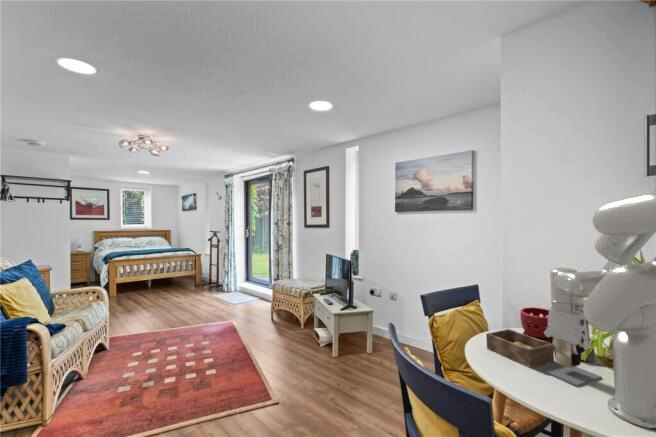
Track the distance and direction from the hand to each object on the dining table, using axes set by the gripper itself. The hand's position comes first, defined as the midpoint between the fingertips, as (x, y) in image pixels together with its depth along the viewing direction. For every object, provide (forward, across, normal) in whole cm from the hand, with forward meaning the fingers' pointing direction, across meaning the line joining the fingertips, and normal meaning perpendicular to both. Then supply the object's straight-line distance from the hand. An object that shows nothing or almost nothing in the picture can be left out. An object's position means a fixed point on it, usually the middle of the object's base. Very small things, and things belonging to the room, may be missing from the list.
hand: (567, 361), depth 103 cm
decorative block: (+4, +7, -18) cm, 20 cm away
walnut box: (+4, +17, +1) cm, 17 cm away
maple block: (+1, 0, 0) cm, 1 cm away
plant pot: (+5, +23, -19) cm, 30 cm away
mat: (+4, 0, 0) cm, 4 cm away
